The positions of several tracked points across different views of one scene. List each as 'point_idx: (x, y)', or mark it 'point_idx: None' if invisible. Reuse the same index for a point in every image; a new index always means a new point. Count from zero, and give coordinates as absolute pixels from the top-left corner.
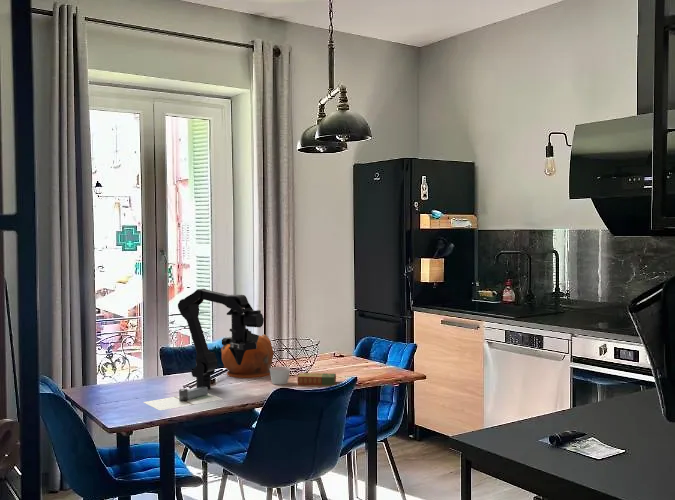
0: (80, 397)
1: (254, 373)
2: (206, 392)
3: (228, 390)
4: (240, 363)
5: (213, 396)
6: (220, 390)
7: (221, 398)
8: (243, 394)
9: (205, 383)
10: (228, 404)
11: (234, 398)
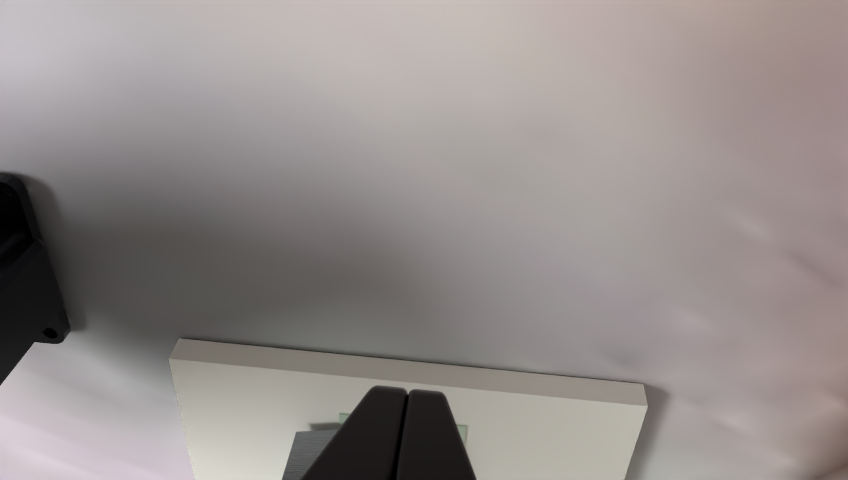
0: None
1: None
2: None
3: (117, 29)
4: (454, 438)
5: None
6: (60, 112)
7: (596, 402)
8: (514, 12)
9: (12, 357)
10: (780, 407)
11: (611, 231)
